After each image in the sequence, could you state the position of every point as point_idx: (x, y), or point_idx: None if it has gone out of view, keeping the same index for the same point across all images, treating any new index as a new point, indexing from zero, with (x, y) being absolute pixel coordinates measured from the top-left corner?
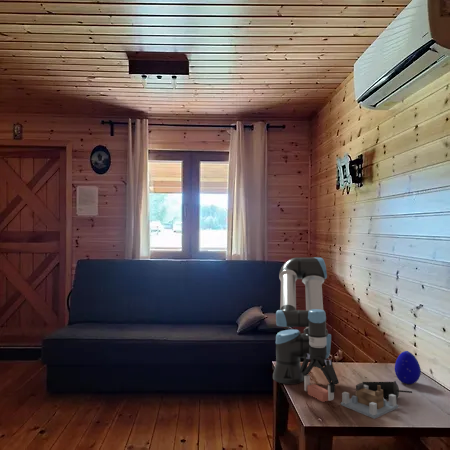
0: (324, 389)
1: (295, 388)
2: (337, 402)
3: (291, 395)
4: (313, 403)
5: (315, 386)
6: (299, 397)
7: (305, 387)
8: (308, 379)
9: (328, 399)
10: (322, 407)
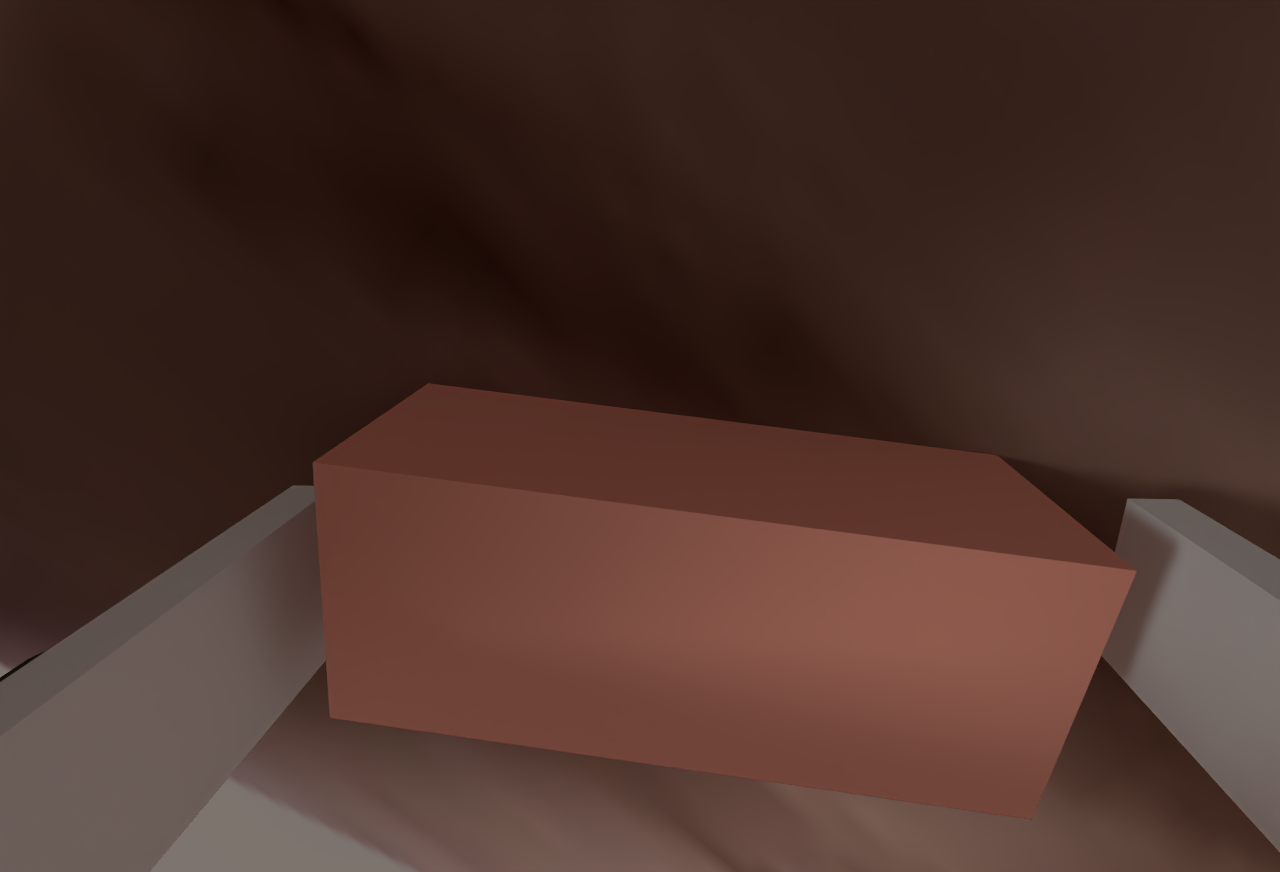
0: (890, 587)
1: (52, 557)
2: (1215, 425)
3: (329, 825)
4: (837, 805)
5: (516, 609)
6: (477, 793)
7: (304, 675)
8: (115, 726)
9: (1109, 656)
10: (1075, 817)
